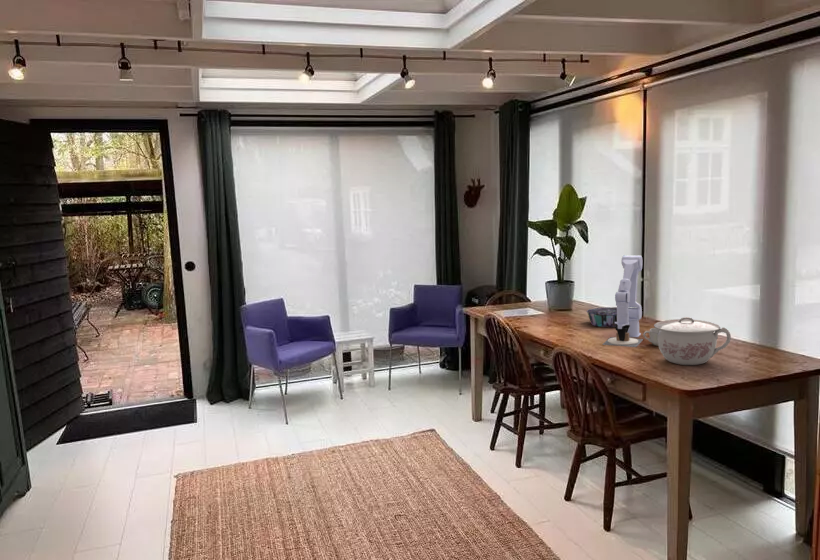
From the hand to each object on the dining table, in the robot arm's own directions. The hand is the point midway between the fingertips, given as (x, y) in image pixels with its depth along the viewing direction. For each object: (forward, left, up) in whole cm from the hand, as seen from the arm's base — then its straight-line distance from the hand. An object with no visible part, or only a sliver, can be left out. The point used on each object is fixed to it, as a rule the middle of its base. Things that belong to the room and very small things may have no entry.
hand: (622, 339), depth 317 cm
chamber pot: (+28, +34, -2) cm, 44 cm away
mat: (0, 0, -2) cm, 2 cm away
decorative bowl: (-45, -17, -2) cm, 48 cm away
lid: (0, 0, -1) cm, 1 cm away
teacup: (0, +17, -2) cm, 17 cm away
